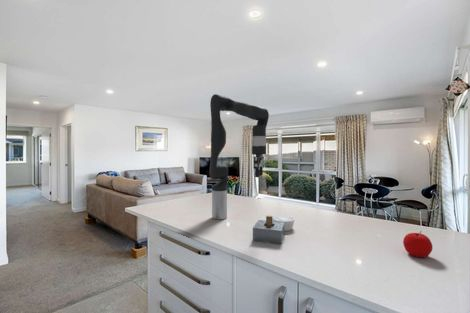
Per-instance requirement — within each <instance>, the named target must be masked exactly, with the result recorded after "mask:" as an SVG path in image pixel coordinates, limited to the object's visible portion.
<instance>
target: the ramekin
mask: <svg viewBox="0 0 470 313" xmlns="http://www.w3.org/2000/svg"><path fill="white" fill-rule="evenodd" d="M273 221H275V222H284V232H288V231H291V230H293V228H294V224H295V223H294V222H295V218H293V217H291V216H288V215H287V216H285V215H278V216H274V217H273Z"/></svg>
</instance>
